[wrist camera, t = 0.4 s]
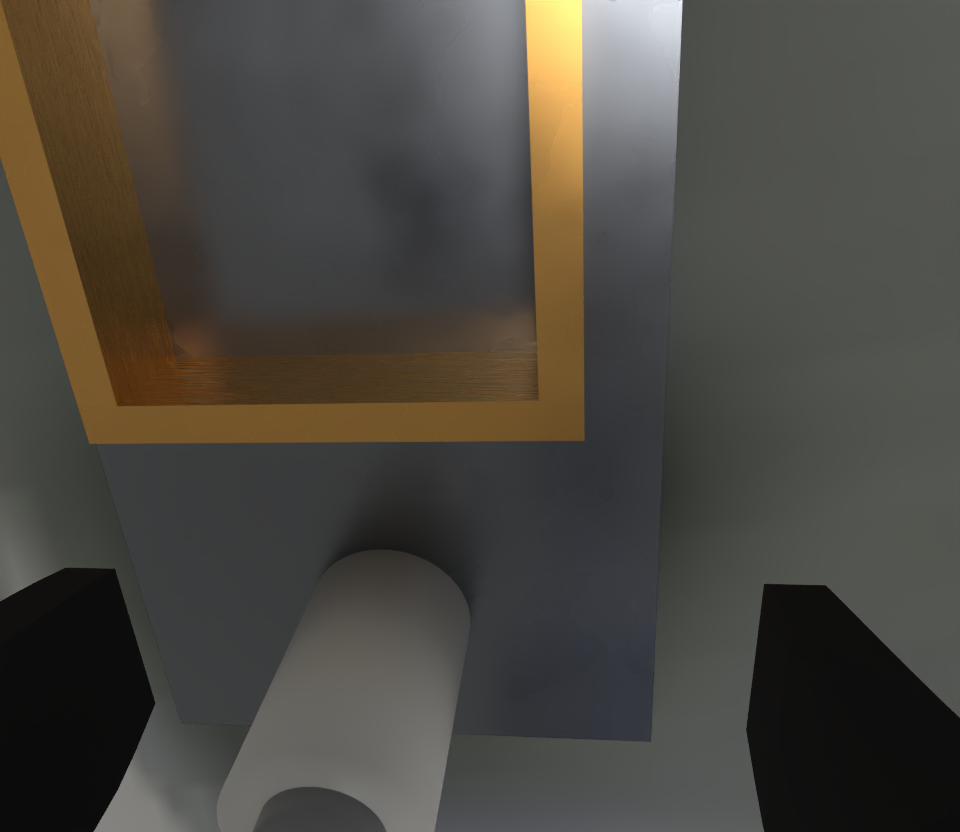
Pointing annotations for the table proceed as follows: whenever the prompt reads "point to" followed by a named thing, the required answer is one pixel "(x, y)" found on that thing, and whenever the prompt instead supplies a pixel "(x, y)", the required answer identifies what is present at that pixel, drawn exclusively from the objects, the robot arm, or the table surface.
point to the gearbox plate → (367, 319)
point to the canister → (357, 706)
